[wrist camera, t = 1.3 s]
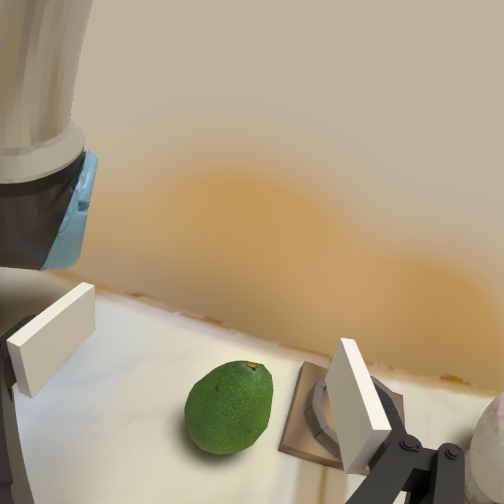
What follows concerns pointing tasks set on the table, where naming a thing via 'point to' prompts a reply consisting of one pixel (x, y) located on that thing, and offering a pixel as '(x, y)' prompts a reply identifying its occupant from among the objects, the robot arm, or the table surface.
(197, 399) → the avocado
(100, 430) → the table surface
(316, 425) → the ring stand
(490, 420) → the ceramic pitcher
